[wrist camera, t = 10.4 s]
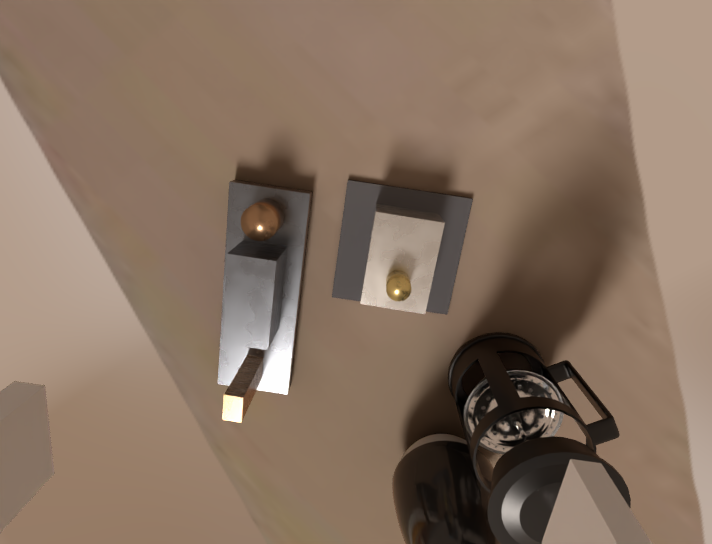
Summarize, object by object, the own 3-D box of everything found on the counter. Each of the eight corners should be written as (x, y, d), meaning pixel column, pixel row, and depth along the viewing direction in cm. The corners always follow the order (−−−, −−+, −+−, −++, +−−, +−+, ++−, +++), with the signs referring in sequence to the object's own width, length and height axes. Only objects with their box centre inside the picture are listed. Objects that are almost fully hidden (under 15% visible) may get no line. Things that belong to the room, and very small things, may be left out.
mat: (348, 179, 41) (347, 180, 40) (471, 198, 41) (472, 199, 40) (332, 295, 44) (331, 297, 44) (446, 312, 44) (447, 314, 44)
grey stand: (234, 179, 41) (199, 192, 33) (312, 191, 41) (296, 207, 33) (222, 376, 47) (190, 427, 39) (290, 386, 47) (271, 440, 39)
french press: (462, 430, 48) (532, 689, 26) (426, 356, 45) (470, 571, 24) (573, 390, 46) (751, 633, 24) (542, 310, 43) (708, 498, 22)
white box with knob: (375, 203, 41) (375, 216, 35) (438, 213, 41) (448, 228, 35) (361, 288, 43) (359, 312, 37) (421, 297, 43) (427, 323, 37)
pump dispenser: (395, 412, 48) (402, 537, 33) (496, 423, 47) (548, 554, 33) (384, 491, 51) (385, 638, 36) (478, 502, 50) (518, 654, 36)
